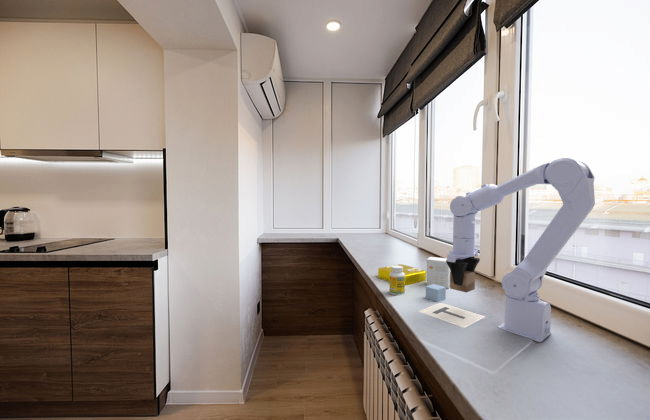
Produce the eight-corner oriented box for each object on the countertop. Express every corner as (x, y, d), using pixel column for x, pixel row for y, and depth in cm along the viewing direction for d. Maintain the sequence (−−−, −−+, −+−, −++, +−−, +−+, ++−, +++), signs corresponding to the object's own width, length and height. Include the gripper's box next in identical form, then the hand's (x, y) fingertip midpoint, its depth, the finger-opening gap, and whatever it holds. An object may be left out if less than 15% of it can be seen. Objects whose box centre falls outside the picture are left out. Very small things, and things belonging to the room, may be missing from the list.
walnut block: (474, 289, 87) (475, 272, 87) (466, 292, 84) (466, 275, 84) (458, 285, 91) (458, 269, 91) (449, 288, 88) (450, 271, 88)
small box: (451, 285, 114) (451, 258, 113) (448, 289, 109) (448, 261, 109) (429, 282, 118) (430, 256, 118) (426, 286, 113) (426, 258, 113)
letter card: (485, 317, 84) (485, 316, 83) (464, 329, 76) (464, 327, 76) (440, 303, 95) (440, 302, 95) (418, 312, 87) (418, 311, 87)
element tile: (400, 273, 134) (400, 262, 134) (428, 281, 121) (428, 269, 121) (375, 278, 126) (376, 267, 125) (402, 287, 113) (403, 275, 113)
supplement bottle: (396, 290, 108) (396, 264, 108) (408, 294, 104) (408, 267, 103) (386, 292, 105) (386, 266, 105) (397, 296, 101) (397, 269, 100)
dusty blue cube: (445, 300, 98) (445, 287, 98) (437, 303, 95) (438, 289, 95) (433, 296, 101) (433, 283, 101) (425, 299, 99) (425, 286, 98)
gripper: (462, 234, 94) (461, 275, 95) (437, 238, 85) (436, 284, 86) (485, 236, 89) (484, 280, 90) (461, 240, 80) (460, 290, 81)
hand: (462, 282), depth 87 cm, fingers closed on walnut block, 5 cm apart
